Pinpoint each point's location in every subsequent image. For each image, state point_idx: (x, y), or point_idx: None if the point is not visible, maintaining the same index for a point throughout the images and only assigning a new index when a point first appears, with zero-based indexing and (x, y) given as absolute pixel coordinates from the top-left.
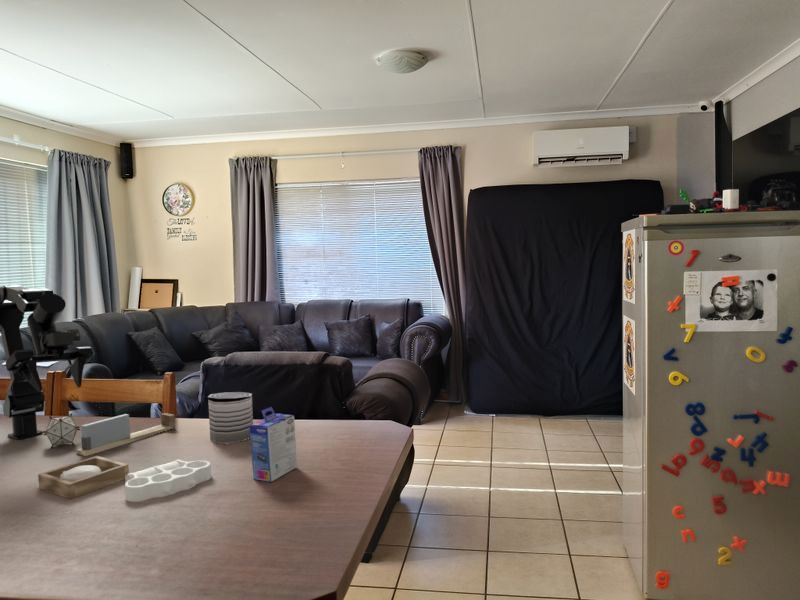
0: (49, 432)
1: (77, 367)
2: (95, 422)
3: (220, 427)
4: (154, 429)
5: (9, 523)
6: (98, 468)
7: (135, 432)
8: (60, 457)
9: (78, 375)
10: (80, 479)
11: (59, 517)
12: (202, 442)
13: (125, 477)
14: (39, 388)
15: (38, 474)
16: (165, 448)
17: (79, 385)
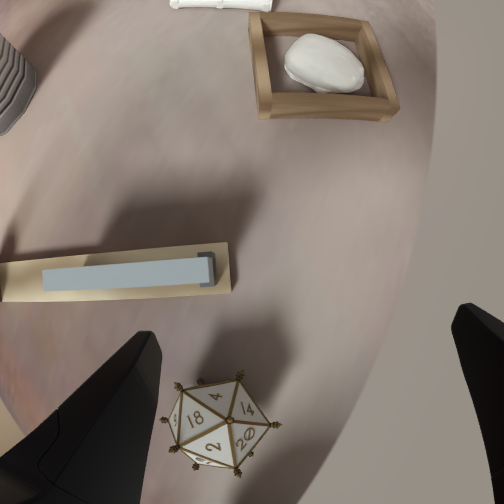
0: (262, 416)
1: (66, 483)
2: (154, 275)
3: (20, 63)
4: (24, 275)
5: (433, 49)
6: (296, 43)
7: (57, 298)
8: (274, 299)
9: (109, 400)
10: (347, 22)
11: (384, 12)
12: (38, 108)
13: (271, 5)
14: (479, 312)
15: (399, 107)
16: (87, 127)
17: (152, 332)
